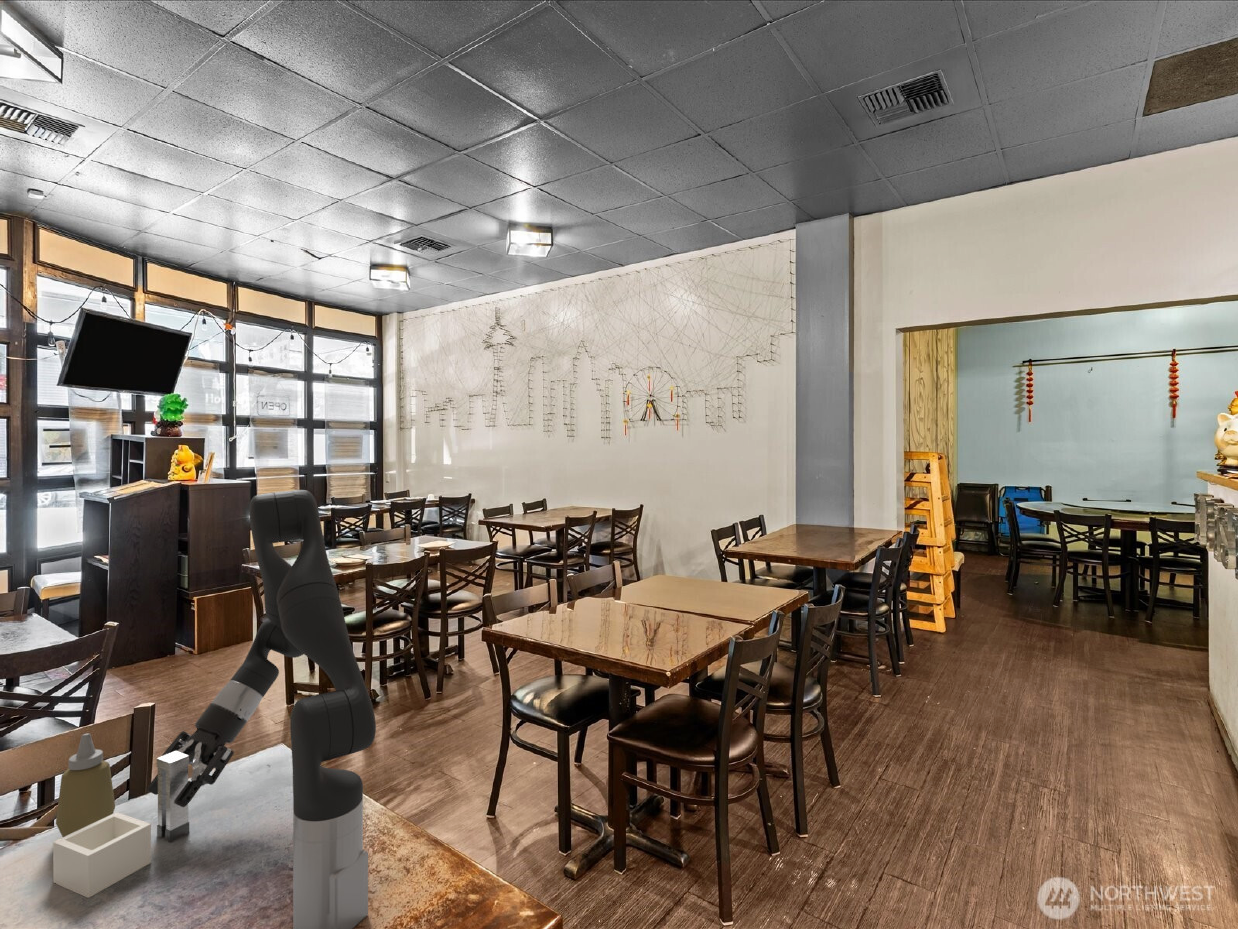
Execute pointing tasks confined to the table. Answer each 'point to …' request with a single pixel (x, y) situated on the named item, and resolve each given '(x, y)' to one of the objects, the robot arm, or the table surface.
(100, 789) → the squeeze bottle
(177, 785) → the grey arch block
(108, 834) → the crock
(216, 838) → the table surface
